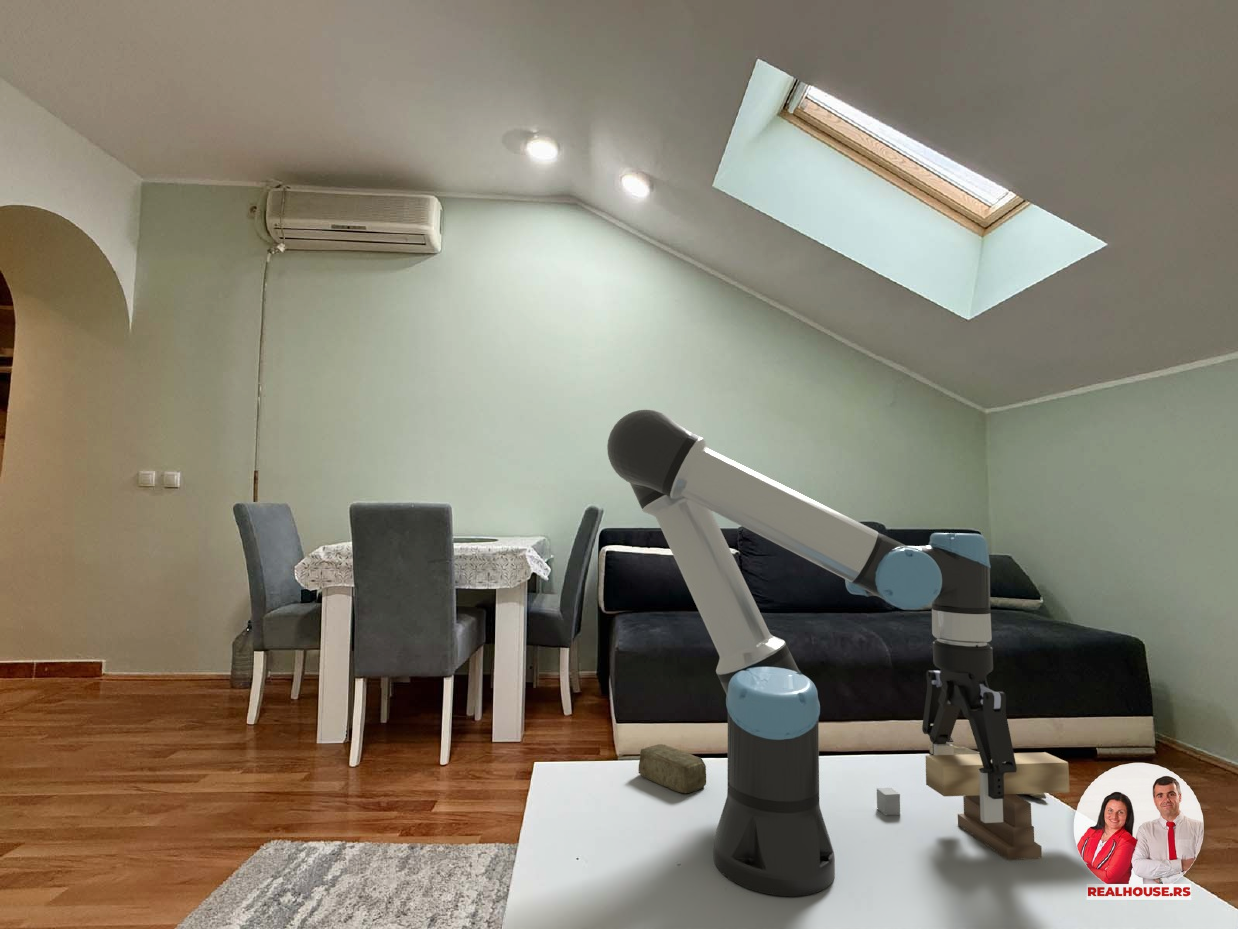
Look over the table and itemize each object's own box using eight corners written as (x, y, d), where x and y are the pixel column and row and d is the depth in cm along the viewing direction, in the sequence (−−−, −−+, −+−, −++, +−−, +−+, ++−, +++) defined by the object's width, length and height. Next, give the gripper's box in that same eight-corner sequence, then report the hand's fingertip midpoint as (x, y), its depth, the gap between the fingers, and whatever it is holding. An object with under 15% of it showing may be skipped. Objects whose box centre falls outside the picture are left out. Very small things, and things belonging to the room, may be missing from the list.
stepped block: (1007, 860, 84) (1005, 804, 85) (957, 824, 94) (956, 775, 95) (1041, 858, 85) (1039, 803, 85) (989, 823, 95) (987, 774, 95)
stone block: (686, 798, 102) (686, 766, 102) (635, 777, 110) (635, 747, 110) (708, 788, 106) (708, 757, 106) (658, 769, 114) (658, 740, 114)
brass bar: (943, 796, 87) (943, 766, 87) (926, 784, 91) (925, 755, 91) (1069, 792, 89) (1068, 762, 90) (1046, 780, 93) (1045, 752, 94)
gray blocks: (885, 815, 97) (885, 794, 97) (877, 808, 99) (876, 788, 99) (990, 811, 99) (989, 790, 99) (980, 804, 101) (979, 784, 101)
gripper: (1046, 656, 81) (1054, 842, 79) (938, 628, 103) (942, 774, 101) (991, 657, 80) (998, 845, 78) (894, 628, 102) (898, 775, 100)
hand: (967, 805), depth 89 cm, fingers open, 9 cm apart
